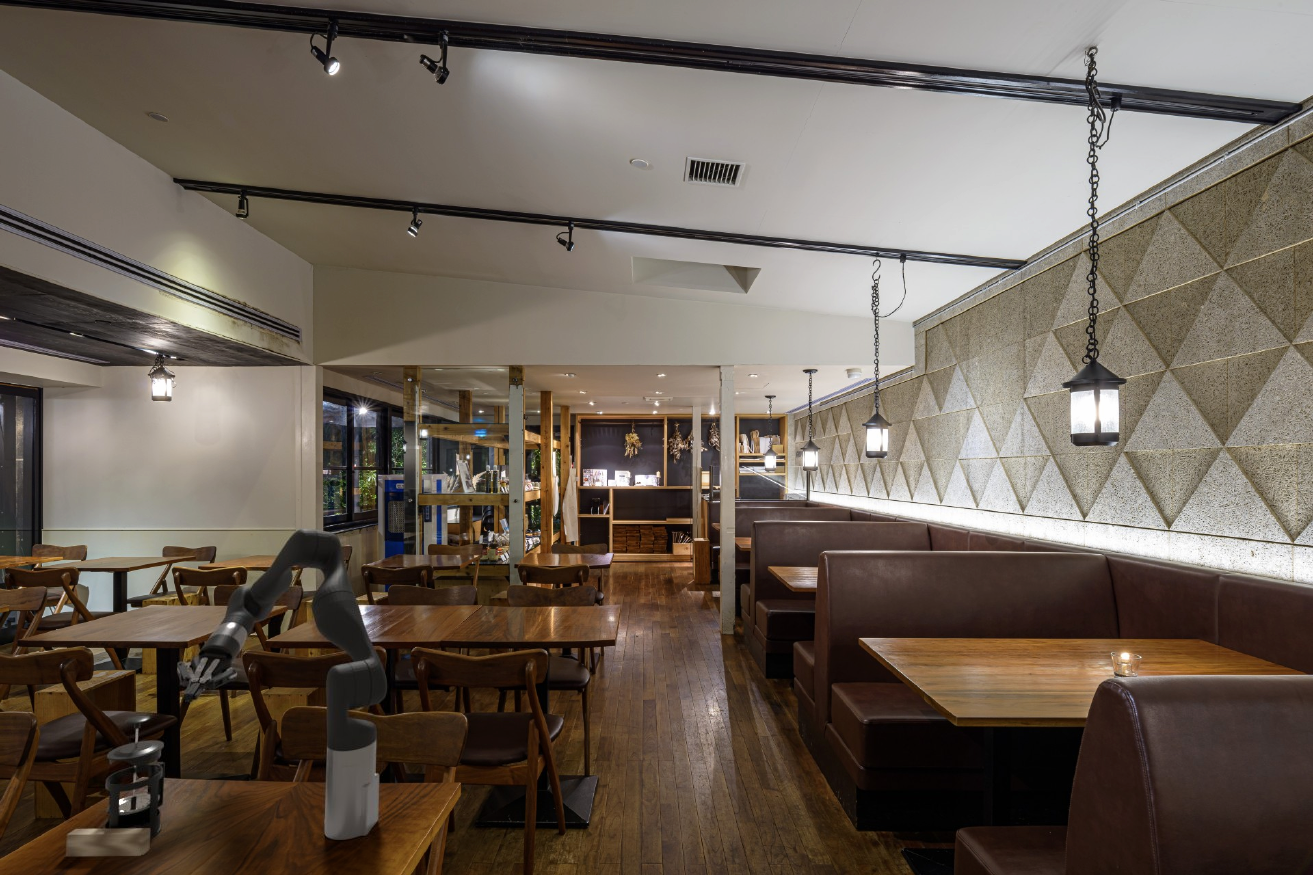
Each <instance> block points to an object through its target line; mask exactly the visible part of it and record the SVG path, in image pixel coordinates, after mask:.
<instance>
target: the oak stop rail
mask: <svg viewBox="0 0 1313 875" xmlns="http://www.w3.org/2000/svg"><path fill="white" fill-rule="evenodd" d="M150 844H151V839H150V828H135V827H130V828H123V829H104V828H75V829H74V830H72V831H70V832H69V833H67V834H66V845H65V846H66V847H65V850H66V851H65V857H120V856H121V857H132V856H133V857H137V856H138V857H141V855H142V856H143V855H145V854H146V853H147V852H149V851H150V847H151V845H150Z"/></svg>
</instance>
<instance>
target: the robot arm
mask: <svg viewBox="0 0 1313 875" xmlns="http://www.w3.org/2000/svg"><path fill="white" fill-rule="evenodd" d="M341 543H342V542H341V540H340V538H339V537H338V536H337V534H335V533H333V532H331V531H324V530H318V529H310V528H301V529H298V530H296V531H295V532H294V533H293V534H292V535H290V537H289V538H288V540H287V541H286V543H285V544H284V545H283V547H282V548H281V550H280V551H279V553H278V555H277V556H276V557H275V559H274V560H273V562H272V564H271V565H270V567H269V568H268V569H267V570H266V571H265V572H264V573H263V574H261V576H260V577H258V579H256V581H254V583H252V585H251V586H250V585H242V586H239V587H238V588H236V589H235V590H234V591H233V593H232V594H231V595H230V597H229V599H228V603H227V607H226V612H225V616H224V617H223V620H222V621H221V622H220V624H219V625H218V627H216V629H215V630H214V631H213V632H212V633H211V635H210V636H209V638H208V639H207V641H206V642H205V643H204V645H203V646H202V647H201V649H200V650H199V652H198V653H197V655H196V656H195V657H193V658H192V659H191V661H188V662H184V661H178V662H177V670H176V672H177V673H176V674H177V676H178V677H179V680H180V682H181V684H182V686H183V688H186V689H185V690H184V691H183V700H184V702H188V703H193V702H194V701H197V700H199V697H200V696H201V695H202V693H203V692H204V691H205V690H207V689H209V690H212V691H213V690H215V689H217V688H220V687H221V686H223V685H225V684H226V685H227V683H229V682H231V681H232V682H233V681H234V680H236V679H237V677H238V676H237V675H238V668H236V667H232V665H233V663H234V661H235V659H236V658H237V656H238V655H239V653H240V652H241V651H242V649H243V647H244V645H245V642H246V640H247V638H248V637H249V635H250V633H251V632H252V630H253V629H254V626H255V623H258V622H263V621H265V620H266V619H267V618H268V617H269V616H270V614H271V613H272V611H273V609H274V607H275V605H276V604H275V603H276V602H277V600H278V599H279V598H280V597H281V596H282V595H283V594H285V593H286V592H287V591H288V590H289V589H290V587H291V585H292V583H293V578H294V577H293V576H294V575H293V570H292V568H293V567H300V568H308V569H316V570H319V571H321V572H322V574H323V577H324V579H323V581H322V583H321V585H319V587H318V589H317V590H316V592H315V594H314V596H313V597H312V600H311V610H312V611H311V612H312V615H313V619H314V622H315V626H316V628H317V630H318V632H319V633H320V634H321V635H322V637H324V638H325V639H326V640H328V641H329V642H330V643H332V644H333V645H334V646H336V647H337V648H339V649H341V650H343V651H344V652H345V653H346V654H348V656H350V658H351V659H352V660H353V661H352V662H347V663H342V664H337V665H333V666H332V667H330V669H329V670H328V672H327V676H326V681H325V686H326V687H325V688H326V690H325V691H326V692H325V694H326V695H325V696H326V699H325V700H326V736H327V737H326V738H327V739H326V740H327V741H326V767H325V768H326V769H325V770H326V774H325V801H324V802H325V803H324V804H325V805H324V808H325V809H324V835H325V836H326V837H327V838H328V839H331V840H337V841H340V840H341V841H344V840H350V839H354V838H357V837H361V836H362V837H363V836H368V834H369V833H370V832H371V831H372V828H374V826H375V825H376V824H377V822H378V820H379V796H380V795H379V794H380V774H379V773H376V768H377V766H376V764H377V732H378V731H377V730H378V729H377V726H376V724H375V723H374V722H372V721H369V720H366V719H358V718H352V717H349V714H348V713H349V711H352V710H357V709H361V708H367V707H370V706H374V705H376V704H379V703H381V702H382V701H383V700H384V699H385V698H386V695H387V691H388V682H387V681H388V679H387V675H386V672H385V669H384V665H383V663H382V661H381V659H380V657H379V655H378V653H377V651H376V648H375V647H374V645H373V642H372V640H371V639H370V635H369V634H368V631H367V628H366V624H365V622H364V619H363V616H362V612H361V609H360V606H359V603H358V600H357V597H356V595H355V593H354V591H353V590H354V589H353V587H352V584H351V581H350V579H349V575H348V572H347V567H346V562H345V556H344V552H343V548H342V544H341ZM190 669H191V671H192V673H193V676H192V677H191V675H190V673H189V671H190Z"/></svg>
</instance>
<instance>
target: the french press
mask: <svg viewBox="0 0 1313 875" xmlns="http://www.w3.org/2000/svg"><path fill="white" fill-rule="evenodd" d="M149 720H151V716H149V715H139V716H135V717H130V718H128V719H126V720H125V721H124V722H123V723H124V724H125V725H133V728H134V730H135V742H131V743H130V742H129V743H127V744H123V745H121V746H118V747H116V748H114V749H112V750H110V751H109V752H108V753H107V755H106V758H107V759H108V760H109V765H110V766H111V765H112V764H113V763H115V762H117V761H118V762H120V761H121V762H125V763H127V764H129V765H131V766H130V767H128V768H125V769H121V770H118V771H117V772H114V773H112V774H110V775H109V776H108V777H107V778H106V779H105V789H106V791H109V800H108V801H109V802H108V806H107V807H106V809H105V810H106V813H107V814H108V817H107V818H108V820H107V821H105V823H104V824H103V829H123V828H150V840H151V839H154V838H155V837H156V836H157V835H158V834H159V833H160V832H161V831H162V824H161V818H162V817H161V815H162V811H161V809H160V807H162V806H163V804H164V790H165V789H164V788H165V764H166V763H165V762H163V761H157V760H158V759H160V757H161V755H162V749H163V748H164V746H165V743H164V742H163V741H161V740H150V739H149V740H141V741H138V740H139V729H140V728H141V724H144V723H146V722H147V721H149ZM151 763H152V764H151ZM143 772H148V774H147V775H148V776H147V778H145V779H142V780H139V781H136V780H137V773H143ZM132 774H133V782H129V783H123V784H121V783H120V784H119V779H120V778H123V777H125V776H128V775H132ZM144 787H147V792H142V793H141V792H140V793H137V794H136V790H139V789H141V788H144ZM128 791H132V795H127V796H124V797H122V798H120V797H121V795H120V793H123V792H128Z"/></svg>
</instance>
